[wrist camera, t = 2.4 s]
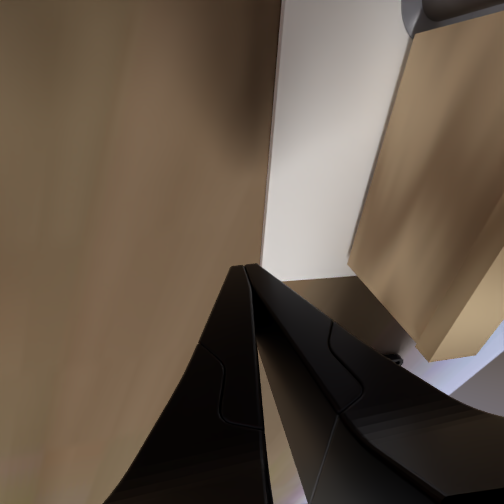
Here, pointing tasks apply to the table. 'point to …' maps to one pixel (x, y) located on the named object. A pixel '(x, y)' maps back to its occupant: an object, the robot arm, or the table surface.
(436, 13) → the fence fixed
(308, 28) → the mat
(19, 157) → the table surface
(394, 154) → the fence fold
